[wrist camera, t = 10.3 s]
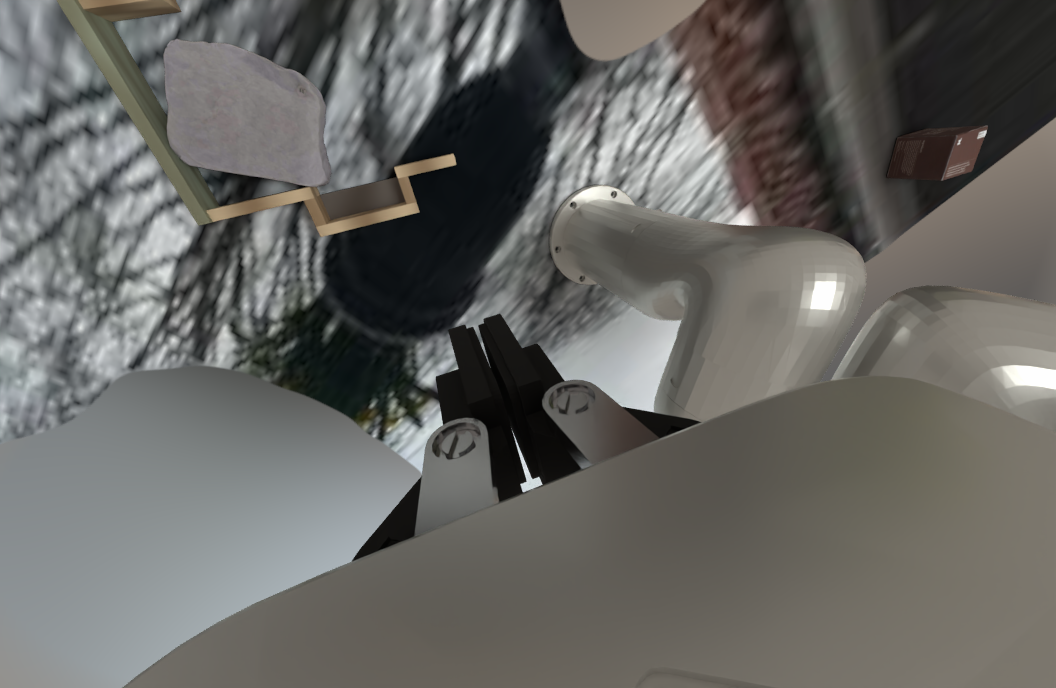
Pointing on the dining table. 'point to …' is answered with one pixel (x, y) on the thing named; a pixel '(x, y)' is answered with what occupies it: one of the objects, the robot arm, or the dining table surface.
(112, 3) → the box
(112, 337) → the dining table surface
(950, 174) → the box
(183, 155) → the stone block
